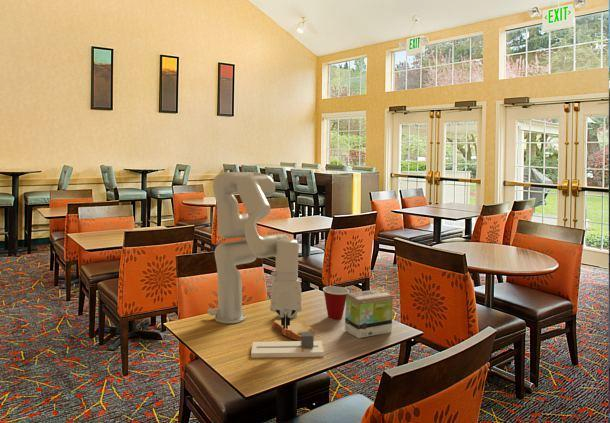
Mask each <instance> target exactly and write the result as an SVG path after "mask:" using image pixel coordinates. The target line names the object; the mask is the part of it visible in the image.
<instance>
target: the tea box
mask: <svg viewBox="0 0 610 423" xmlns="http://www.w3.org/2000/svg"><path fill="white" fill-rule="evenodd" d="M393 303H394V295H392V294H390V293H388V292H385V291H383V290H381V289H379V288H377V289H371V290H369V289H368V290H363V291H356V292H349V293H347V294H346V302H345V312H344V313H345V316H344V317H345V319H344V320H345V321H344V330H345V331H346V332H347V333H349V334H350V335H352V336H354V337H355V338H357V339H362V338H366V337H373V336H377V335H385V334H390V332H391V333H392V331H393V330H392V328H393V306H394V305H393Z"/></svg>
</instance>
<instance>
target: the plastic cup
mask: <svg viewBox="0 0 610 423" xmlns="http://www.w3.org/2000/svg"><path fill="white" fill-rule="evenodd" d="M322 291H323V294H324V300H325V306H326V311H327V312H326V313H327V318H328V319H330V320H341V319H342V318H343V316H344V311H345V308H346V294H347V293H350V290H349V289H347V288H345V287H342V286H335V285H331V286H330V285H329V286H324V287H323V288H322Z"/></svg>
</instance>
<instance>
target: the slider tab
mask: <svg viewBox="0 0 610 423" xmlns="http://www.w3.org/2000/svg"><path fill="white" fill-rule="evenodd" d="M313 332H314V331H313ZM313 332H301V347H302V348H313V341H314V335H313Z"/></svg>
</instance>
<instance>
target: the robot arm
mask: <svg viewBox="0 0 610 423" xmlns="http://www.w3.org/2000/svg"><path fill="white" fill-rule="evenodd" d="M212 190H213V195H214V199H215V202H216V218H217V234H218V236H219V237H220V238H221V239H225V240H227V239H229V240H230V239H240V238H242V240H241V239H240V240H235V241H234V240H233V241H226V242H222V243H220V244H217V245H216V247H215V249H214V259H215V263H216V270H217V271H216V272H217V298H218V299H217V304H218V306H217V307H216V308H208V309H207V315H208V314H209V315H210V316H214V320H215V322H217V323H220V324H226V325H227V324H229V325H230V324H238V323H241V322H243V321H245V320H246V319H247V315H246V314H245V312H243V292H242V291H243V285H242V284H243V283H242V282H243V280H242V274H241V272H240V270H239V269H238V268H237V267H236V266H239V265H244V264H250V263H253V262H255V261H256V260H257V259H265V258H273V257H275V270H274V271H270V272H271V273H270V275H271V277H274V278H273V279H272V282H271V283H272V284H271V291H270V293H271V294H270V307H269V311H270V312H275V313H276V314H277V313H278V314H279V315H280V316H281V317H280V320H281V326H283V329H285V313H284V310H288V313H287V315H286V329H288V326H290V321H291V319H290V317H291V316H292V315H293V314H294V313H295V312H297V313H299V312H302V310H303V308H302V285H301V284H302V283H301V280H300V278H298V276H299V249H300V248H299V244H300V243H299V242H298V240H297V239H295V238H291V237H289V236H288V235H286V234H284V233H275V234H265V235H260V233H259V232H258V224H257V223H259V222H260V221H262V220H264V219H265V218H266V217H267V216H268V215H269V214H270V213H271V205H270V203H269V201H268V199H267V198H270V197H272V196H274V194H275V191H276V185H275V182H274V179H273V178H272V177H271V176H270V175H268V174H264V173H261V172H256V171H228V172H227V171H225V172H221V173H218V174H217V175H216V176H215V177H214V179H213V183H212ZM237 194H238V195H239V197H240V198H239V199H240V200H241V203H242V205H243V207H244V209H245V211H246V213H240V211H239V210H240V209H239V202H238V200H237V198H236V197H235V195H237Z"/></svg>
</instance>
